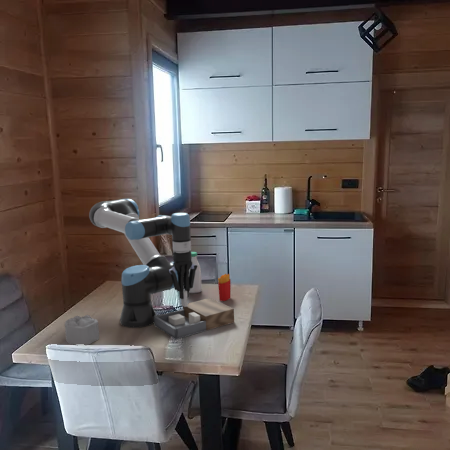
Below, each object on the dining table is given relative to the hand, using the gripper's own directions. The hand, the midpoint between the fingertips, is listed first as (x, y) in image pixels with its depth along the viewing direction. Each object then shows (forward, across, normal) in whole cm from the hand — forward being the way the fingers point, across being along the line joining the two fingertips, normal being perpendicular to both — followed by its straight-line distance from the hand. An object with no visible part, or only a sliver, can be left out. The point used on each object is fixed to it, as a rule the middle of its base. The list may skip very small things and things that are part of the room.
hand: (184, 305), depth 208 cm
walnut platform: (+7, +9, -4) cm, 12 cm away
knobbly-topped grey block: (+8, -41, +11) cm, 43 cm away
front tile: (+4, +1, -8) cm, 9 cm away
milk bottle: (+8, +25, +34) cm, 43 cm away
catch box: (+7, -5, -4) cm, 10 cm away
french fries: (+8, +30, +14) cm, 34 cm away
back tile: (+4, -4, 0) cm, 6 cm away
